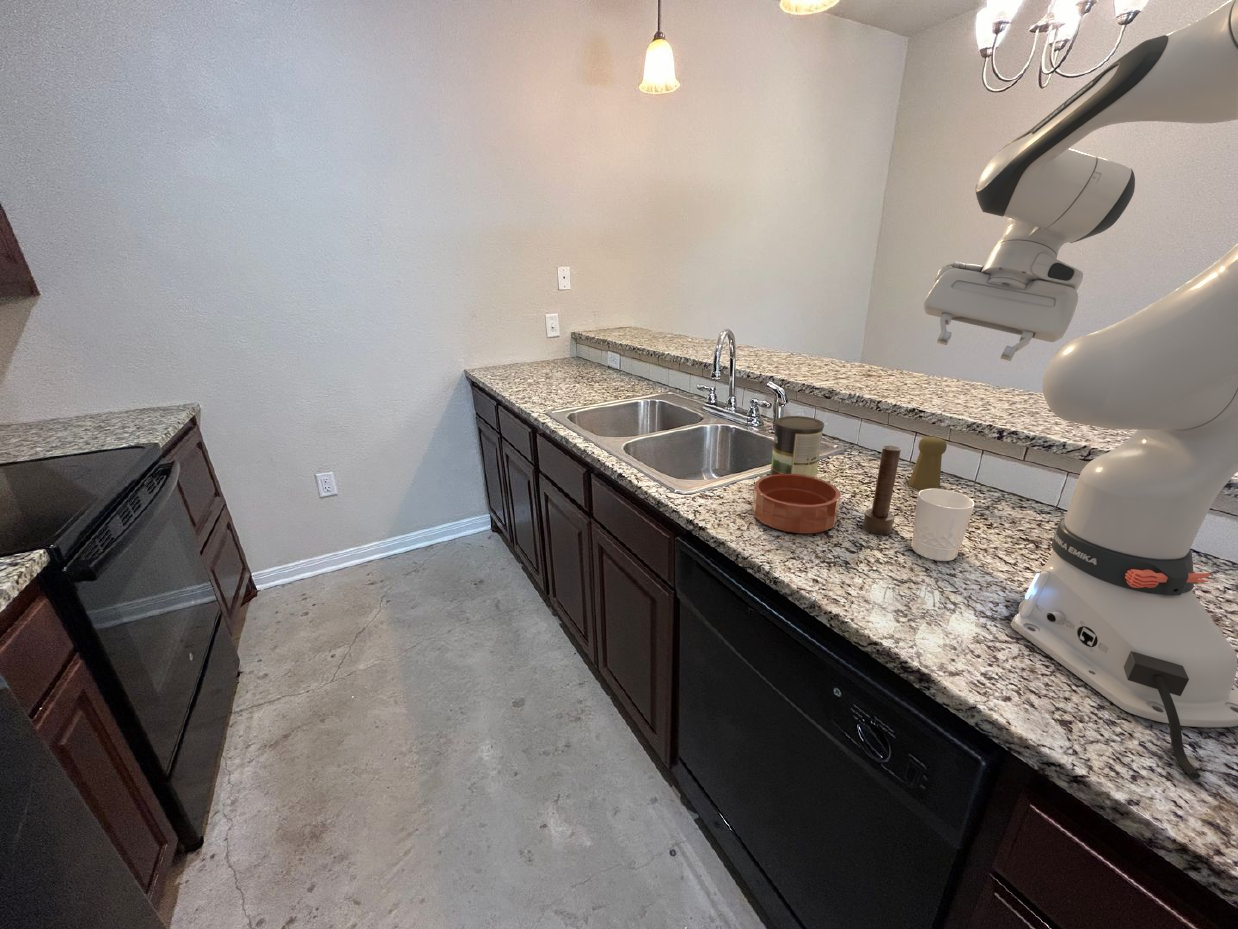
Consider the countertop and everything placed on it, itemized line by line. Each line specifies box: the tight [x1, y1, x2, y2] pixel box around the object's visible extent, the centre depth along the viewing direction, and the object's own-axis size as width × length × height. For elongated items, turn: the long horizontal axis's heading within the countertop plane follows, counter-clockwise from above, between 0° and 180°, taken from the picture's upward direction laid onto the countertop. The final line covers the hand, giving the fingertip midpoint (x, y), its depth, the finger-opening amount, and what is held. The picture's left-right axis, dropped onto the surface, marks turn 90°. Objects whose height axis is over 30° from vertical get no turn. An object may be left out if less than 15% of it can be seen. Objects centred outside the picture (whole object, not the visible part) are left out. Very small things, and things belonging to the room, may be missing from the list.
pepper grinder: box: [908, 436, 948, 491], centre depth 109 cm, size 6×6×11 cm
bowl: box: [752, 474, 841, 534], centre depth 97 cm, size 16×16×6 cm
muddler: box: [862, 445, 902, 536], centre depth 90 cm, size 5×5×16 cm
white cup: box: [910, 488, 976, 562], centre depth 83 cm, size 8×8×10 cm
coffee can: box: [769, 415, 825, 478], centre depth 112 cm, size 10×10×14 cm
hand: (972, 350), depth 83 cm, fingers open, 8 cm apart
